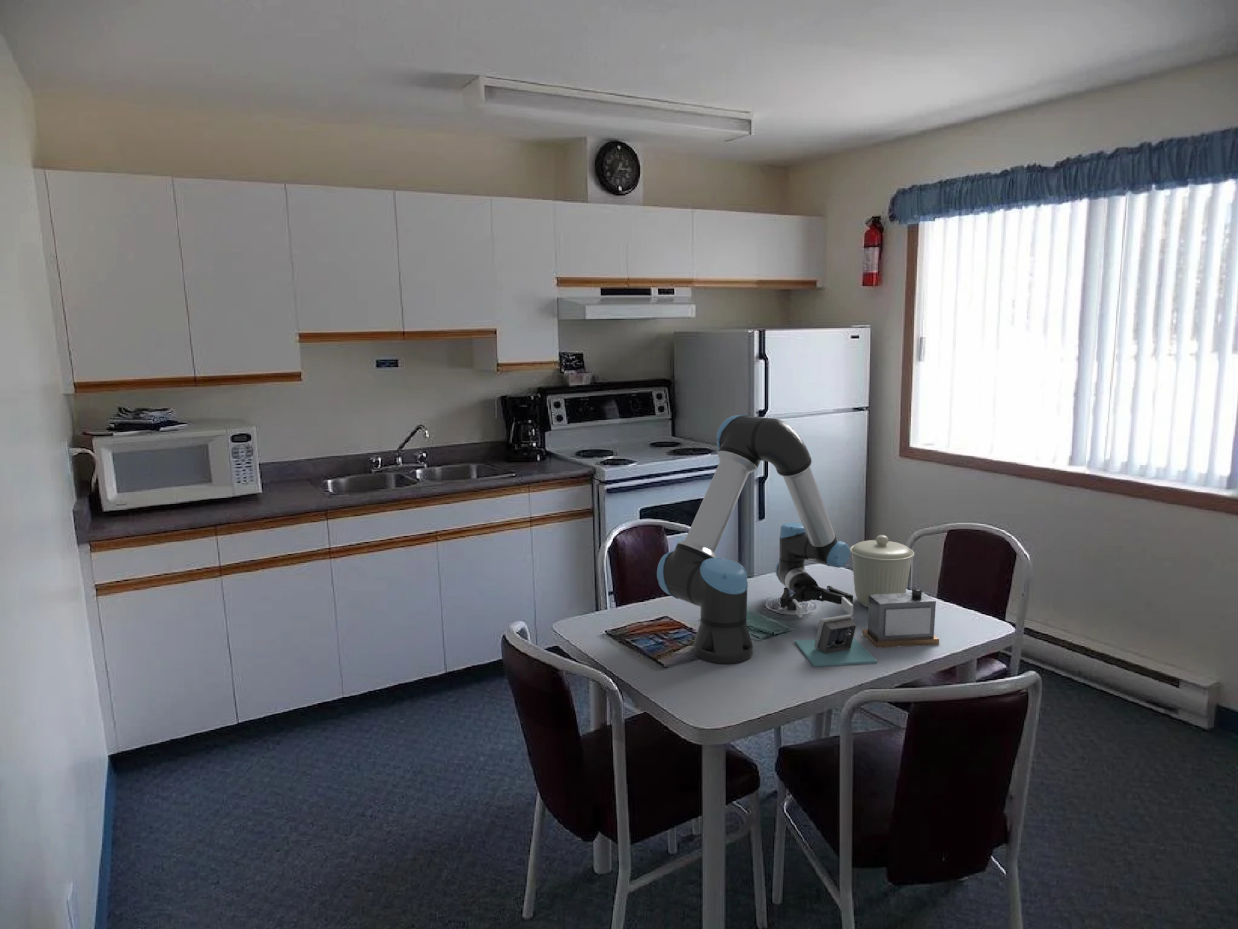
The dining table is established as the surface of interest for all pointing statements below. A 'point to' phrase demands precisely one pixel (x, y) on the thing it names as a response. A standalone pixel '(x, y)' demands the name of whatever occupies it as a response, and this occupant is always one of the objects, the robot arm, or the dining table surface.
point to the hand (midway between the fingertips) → (826, 611)
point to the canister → (880, 567)
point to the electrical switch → (835, 634)
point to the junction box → (901, 619)
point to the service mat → (835, 654)
